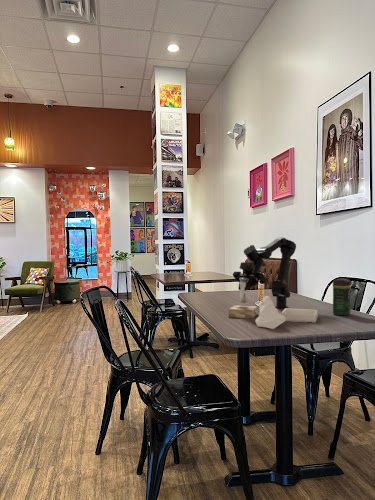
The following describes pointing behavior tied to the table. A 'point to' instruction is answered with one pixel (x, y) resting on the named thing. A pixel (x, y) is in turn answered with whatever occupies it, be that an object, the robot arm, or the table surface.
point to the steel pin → (242, 292)
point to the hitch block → (243, 311)
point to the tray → (300, 315)
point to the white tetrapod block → (269, 315)
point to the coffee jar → (341, 296)
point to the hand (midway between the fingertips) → (242, 289)
